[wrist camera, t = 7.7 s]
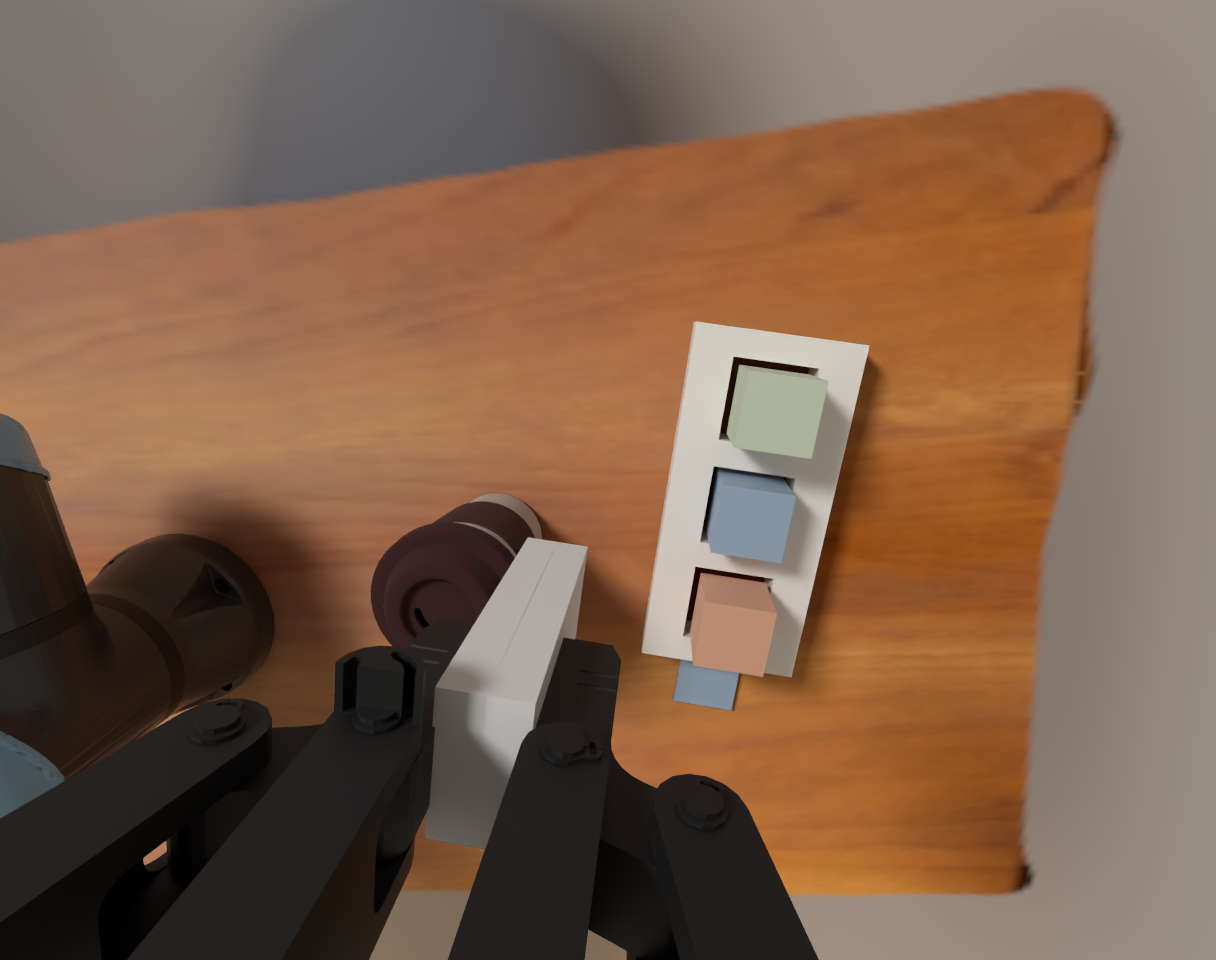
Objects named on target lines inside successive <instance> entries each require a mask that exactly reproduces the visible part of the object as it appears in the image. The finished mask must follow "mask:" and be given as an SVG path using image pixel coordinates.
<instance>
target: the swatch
mask: <svg viewBox="0 0 1216 960" xmlns="http://www.w3.org/2000/svg"><path fill="white" fill-rule="evenodd" d="M738 677H739V673H736V672H730V671H724V670H717V669H711V668H705V667H699V666H693V661H688V660H682V659H681V660H680V665H679V671H678V676H677V681H676V687H675V692H674V698H673V699H674V701H678V702H684V703H690V704H696V705H702V706H708V707H714V708H720V709H726V710H732V705H733V701H734V696H735V691H736V686H737V682H738Z"/></svg>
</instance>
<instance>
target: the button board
mask: <svg viewBox="0 0 1216 960" xmlns="http://www.w3.org/2000/svg"><path fill="white" fill-rule="evenodd" d="M868 350H869V345H861V344H854V343H847V342H840V341H832V340H825V339H818V338H811V337H803V336H796V335H789V334H782V333H774V332H767V331H760V330H753V329H745V328H738V327H731V326H724V325H716V324H709V323H702V322H694V325H693V331H692V337H691V343H690V349H689V355H688V361H687V367H686V374H685V380H684V386H683V392H682V398H681V404H680V410H679V416H678V423H677V429H676V435H675V441H674V447H673V453H672V459H671V465H670V471H669V478H668V484H667V490H666V496H665V502H664V508H663V514H662V520H661V527H660V533H659V539H658V545H657V551H656V557H655V563H654V569H653V575H652V582H651V588H650V594H649V600H648V606H647V612H646V618H645V624H644V631H643V639H642V653H646V654H652V655H658V656H664V657H670V658H676V659H682V660H688V661H693V660H692V648H691V636H690V628H691V623H692V621H690V620H686V616H687V611H688V605H689V600H690V594H691V589H692V583H693V578H694V572H695V567H701V568H707V569H714V570H720V571H726V572H733V573H739V574H745V575H752V576H758V577H765V578H764V583H766V585H767V588H768V591H769V593H770V596H771V598H772V601H773V604H774V606H775V609H776V611H777V617H776V621H775V626H774V630H773V635H772V639H771V644H770V648H769V653H768V657H767V662H766V666H765V671H764V673H767V674H774V675H780V676H786V677H792V673H793V669H794V665H795V660H796V656H797V652H798V648H799V643H800V639H801V635H802V631H803V626H804V622H805V618H806V614H807V609H808V605H809V601H810V597H811V592H812V588H813V584H814V580H815V575H816V571H817V567H818V563H819V558H820V554H821V550H822V546H823V541H824V537H825V533H826V529H827V524H828V520H829V516H830V512H831V507H832V503H833V499H834V495H835V490H836V486H837V482H838V478H839V473H840V469H841V465H842V461H843V456H844V452H845V448H846V444H847V439H848V435H849V431H850V427H851V422H852V418H853V414H854V410H855V405H856V401H857V397H858V393H859V388H860V384H861V380H862V375H863V371H864V367H865V363H866V358H867V354H868ZM734 357H740V358H747V359H754V360H761V361H769V362H776V363H783V364H790V365H797V366H804V367H809V372H808V374H810V375H813V376H815V377H818V378H820V379H823V380H826V381H828V382H829V383H828V387H827V392H826V396H825V401H824V405H823V410H822V414H821V419H820V423H819V428H818V432H817V437H816V441H815V446H814V450H813V455H812V459H808V458H801V457H794V456H787V455H781V454H774V453H767V452H760V451H754V450H747V449H740V448H734V447H733V445H732V443H731V441H730V439H729V437H728V436H727V434H722V433H720V429H721V424H722V418H723V413H724V407H725V402H726V396H727V391H728V385H729V380H730V374H731V369H732V363H733V358H734ZM714 466H715V467H722V468H729V469H735V470H742V471H749V472H756V473H762V474H769V475H776V476H783V477H786V480H785V482H786V483H787V484H788V486H789V487H790V488H791V490H792V491H793V492H794V494H795V495H796V499H795V504H794V509H793V513H792V518H791V522H790V527H789V531H788V536H787V541H786V545H785V550H784V554H783V559H782V563H775V562H768V561H762V560H756V559H749V558H743V557H736V556H730V555H723V554H717V553H711V551H710V546H709V542H708V537H707V532H706V531H703V530H702V528H703V523H704V517H705V512H706V506H707V501H708V495H709V490H710V484H711V479H712V473H713V468H714Z"/></svg>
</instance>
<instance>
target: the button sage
mask: <svg viewBox="0 0 1216 960" xmlns="http://www.w3.org/2000/svg"><path fill="white" fill-rule="evenodd" d="M828 383H829V382H828V381H826V380H823V379H820V378H818V377H815V376H813V375H810V374H803V373H796V372H788V371H781V370H774V369H767V368H760V367H753V366H746V365H739V368H738V373H737V379H736V384H735V390H734V395H733V401H732V406H731V411H730V417H729V422H728V428H727V433H726V434H727V436H728V437H729V439H730V441H731V443H732V445H733V447H734V448H740V449H747V450H754V451H760V452H767V453H774V454H781V455H787V456H794V457H801V458H808V459H812V455H813V450H814V446H815V441H816V437H817V432H818V428H819V423H820V419H821V414H822V410H823V405H824V401H825V396H826V392H827V387H828Z"/></svg>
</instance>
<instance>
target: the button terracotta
mask: <svg viewBox="0 0 1216 960" xmlns="http://www.w3.org/2000/svg"><path fill="white" fill-rule="evenodd" d="M776 617H777V611H776V609H775V606H774V604H773V601H772V598H771V596H770V593H769V591H768V588H767V585H766V583H763V582H757V581H751V580H744V579H738V578H731V577H725V576H719V575H712V574H706V573H701V574H700V579H699V585H698V590H697V596H696V601H695V607H694V612H693V617H692V623H691V628H690V636H691V648H692V660H693V666H699V667H705V668H711V669H717V670H724V671H730V672H736V673H742V674H748V675H754V676H760V677H763V675H764V671H765V666H766V662H767V657H768V653H769V648H770V644H771V639H772V635H773V630H774V626H775V621H776Z"/></svg>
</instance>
